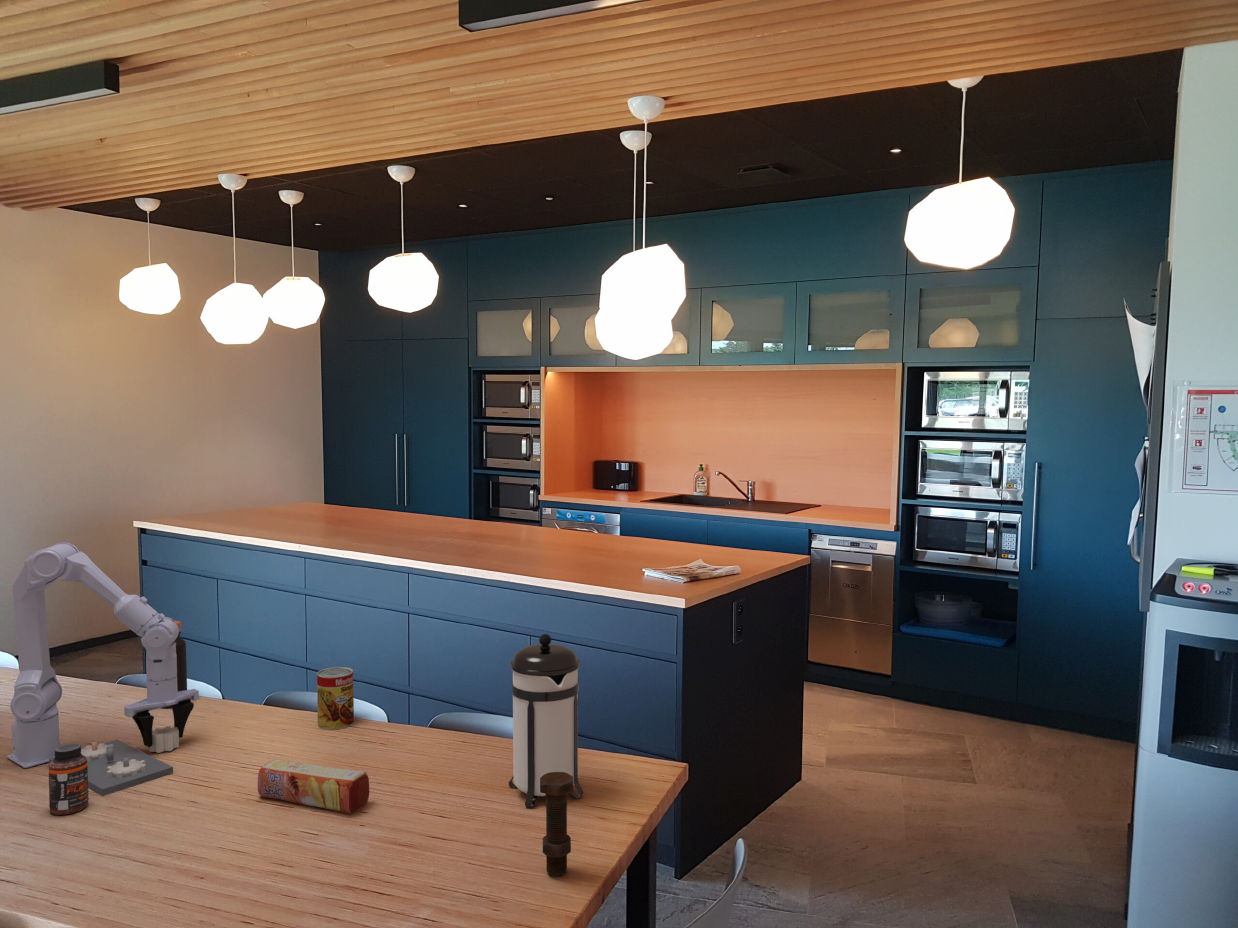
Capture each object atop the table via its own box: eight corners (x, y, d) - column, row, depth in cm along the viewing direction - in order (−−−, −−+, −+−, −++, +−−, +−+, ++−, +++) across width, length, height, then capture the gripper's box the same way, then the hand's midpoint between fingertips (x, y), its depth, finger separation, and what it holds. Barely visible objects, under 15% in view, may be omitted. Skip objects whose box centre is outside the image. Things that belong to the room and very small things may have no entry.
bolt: (540, 863, 139) (540, 770, 138) (572, 862, 139) (572, 769, 139) (540, 883, 133) (539, 786, 132) (573, 881, 134) (573, 785, 133)
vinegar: (149, 707, 211) (147, 625, 210) (168, 698, 218) (166, 619, 217) (175, 709, 210) (173, 626, 209) (193, 700, 217) (191, 620, 216)
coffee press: (601, 781, 170) (601, 628, 168) (561, 816, 155) (561, 648, 154) (523, 766, 177) (523, 618, 175) (478, 797, 163) (477, 637, 161)
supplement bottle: (70, 817, 154) (67, 754, 154) (41, 814, 156) (38, 751, 155) (96, 803, 160) (94, 742, 160) (68, 800, 161) (66, 739, 161)
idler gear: (143, 748, 186) (142, 731, 185) (170, 740, 190) (170, 724, 190) (156, 754, 182) (156, 738, 182) (184, 746, 187) (183, 730, 186)
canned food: (347, 729, 197) (346, 677, 197) (312, 729, 197) (311, 676, 197) (358, 717, 205) (357, 666, 204) (324, 717, 205) (323, 666, 205)
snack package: (253, 800, 162) (253, 764, 162) (279, 786, 168) (278, 751, 168) (349, 819, 155) (349, 781, 154) (373, 803, 161) (372, 767, 160)
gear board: (49, 764, 178) (48, 740, 177) (117, 744, 188) (116, 722, 188) (102, 795, 163) (101, 770, 163) (173, 772, 174) (172, 748, 173)
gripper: (135, 689, 177) (136, 755, 178) (205, 672, 189) (207, 734, 189) (118, 683, 181) (120, 747, 182) (188, 666, 193) (190, 727, 194)
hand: (163, 740), depth 186 cm, fingers closed on idler gear, 6 cm apart
